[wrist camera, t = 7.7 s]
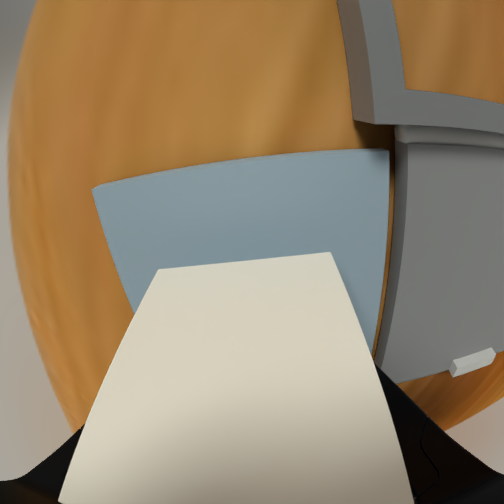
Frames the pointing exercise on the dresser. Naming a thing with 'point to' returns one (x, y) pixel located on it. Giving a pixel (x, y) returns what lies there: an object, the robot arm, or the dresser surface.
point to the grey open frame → (433, 208)
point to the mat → (255, 218)
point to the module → (241, 396)
